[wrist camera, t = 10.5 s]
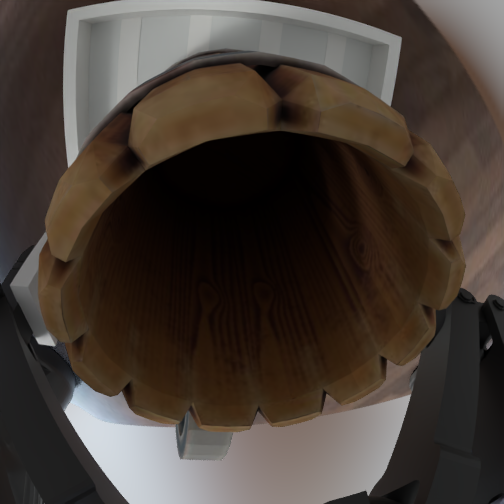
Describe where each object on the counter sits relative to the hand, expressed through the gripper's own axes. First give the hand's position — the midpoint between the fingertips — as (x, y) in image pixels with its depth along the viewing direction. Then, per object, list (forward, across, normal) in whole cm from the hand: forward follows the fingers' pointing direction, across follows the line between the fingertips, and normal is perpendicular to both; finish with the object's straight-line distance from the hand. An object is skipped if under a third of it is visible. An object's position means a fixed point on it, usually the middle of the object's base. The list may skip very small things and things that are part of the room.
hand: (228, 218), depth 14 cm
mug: (+6, 0, 0) cm, 6 cm away
